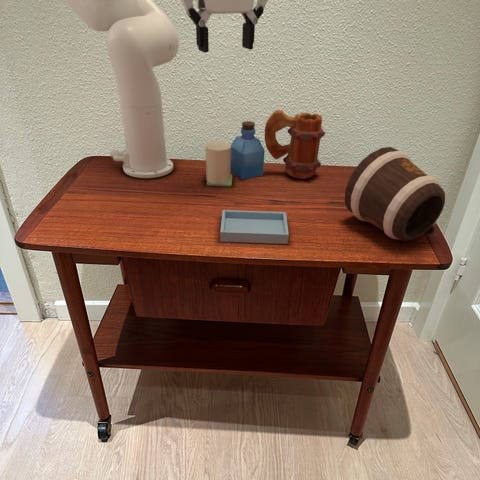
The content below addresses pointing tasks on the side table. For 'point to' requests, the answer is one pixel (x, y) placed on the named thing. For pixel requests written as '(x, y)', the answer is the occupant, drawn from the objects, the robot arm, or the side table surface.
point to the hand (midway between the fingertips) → (225, 49)
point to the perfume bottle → (247, 153)
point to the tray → (254, 227)
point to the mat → (221, 184)
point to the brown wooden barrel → (394, 194)
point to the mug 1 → (296, 142)
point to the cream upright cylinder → (218, 162)
